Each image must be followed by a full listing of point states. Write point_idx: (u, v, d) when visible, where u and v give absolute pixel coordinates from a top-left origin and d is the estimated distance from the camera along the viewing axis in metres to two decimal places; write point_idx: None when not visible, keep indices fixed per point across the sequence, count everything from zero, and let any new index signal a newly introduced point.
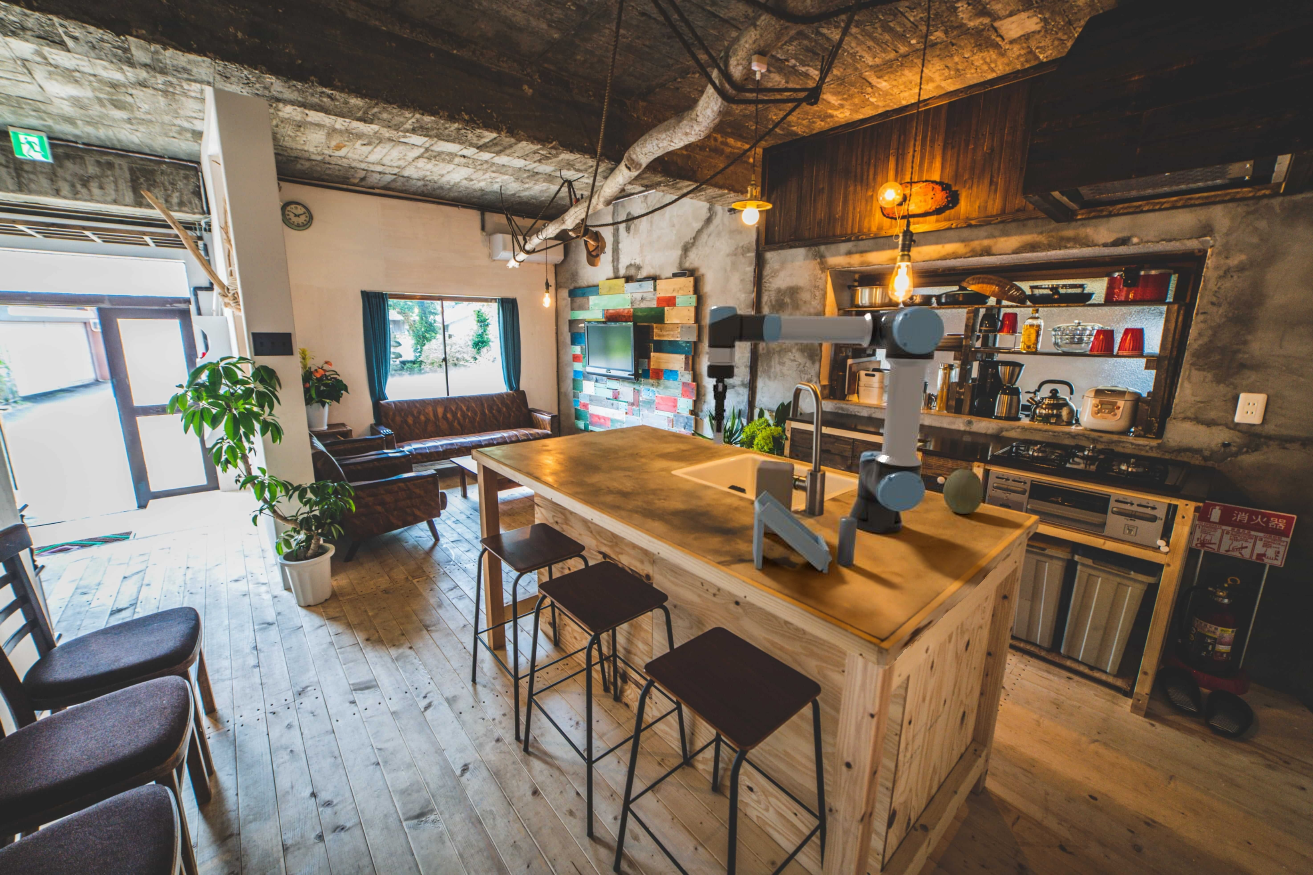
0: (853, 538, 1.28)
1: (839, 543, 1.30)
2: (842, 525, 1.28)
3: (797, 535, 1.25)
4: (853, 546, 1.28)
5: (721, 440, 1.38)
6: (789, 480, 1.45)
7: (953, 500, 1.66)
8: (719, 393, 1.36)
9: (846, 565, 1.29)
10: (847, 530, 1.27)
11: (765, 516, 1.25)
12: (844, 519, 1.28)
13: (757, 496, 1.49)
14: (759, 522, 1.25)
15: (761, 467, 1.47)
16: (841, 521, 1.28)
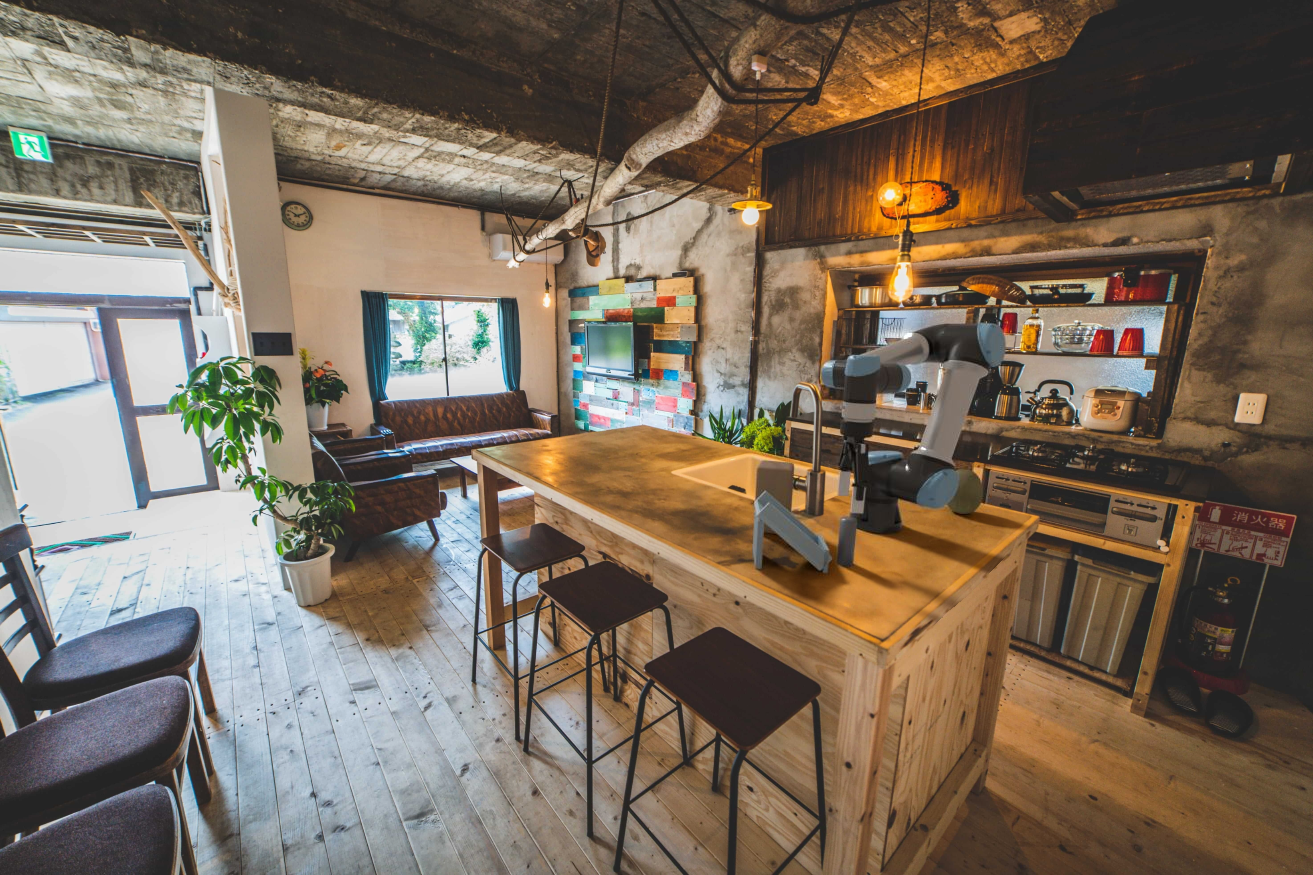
0: (853, 538, 1.28)
1: (839, 543, 1.30)
2: (842, 525, 1.28)
3: (797, 535, 1.25)
4: (853, 546, 1.28)
5: (861, 508, 1.20)
6: (789, 480, 1.45)
7: (953, 500, 1.66)
8: (862, 456, 1.18)
9: (846, 565, 1.29)
10: (847, 530, 1.27)
11: (765, 516, 1.25)
12: (844, 519, 1.28)
13: (757, 496, 1.49)
14: (759, 522, 1.25)
15: (761, 467, 1.47)
16: (841, 521, 1.28)
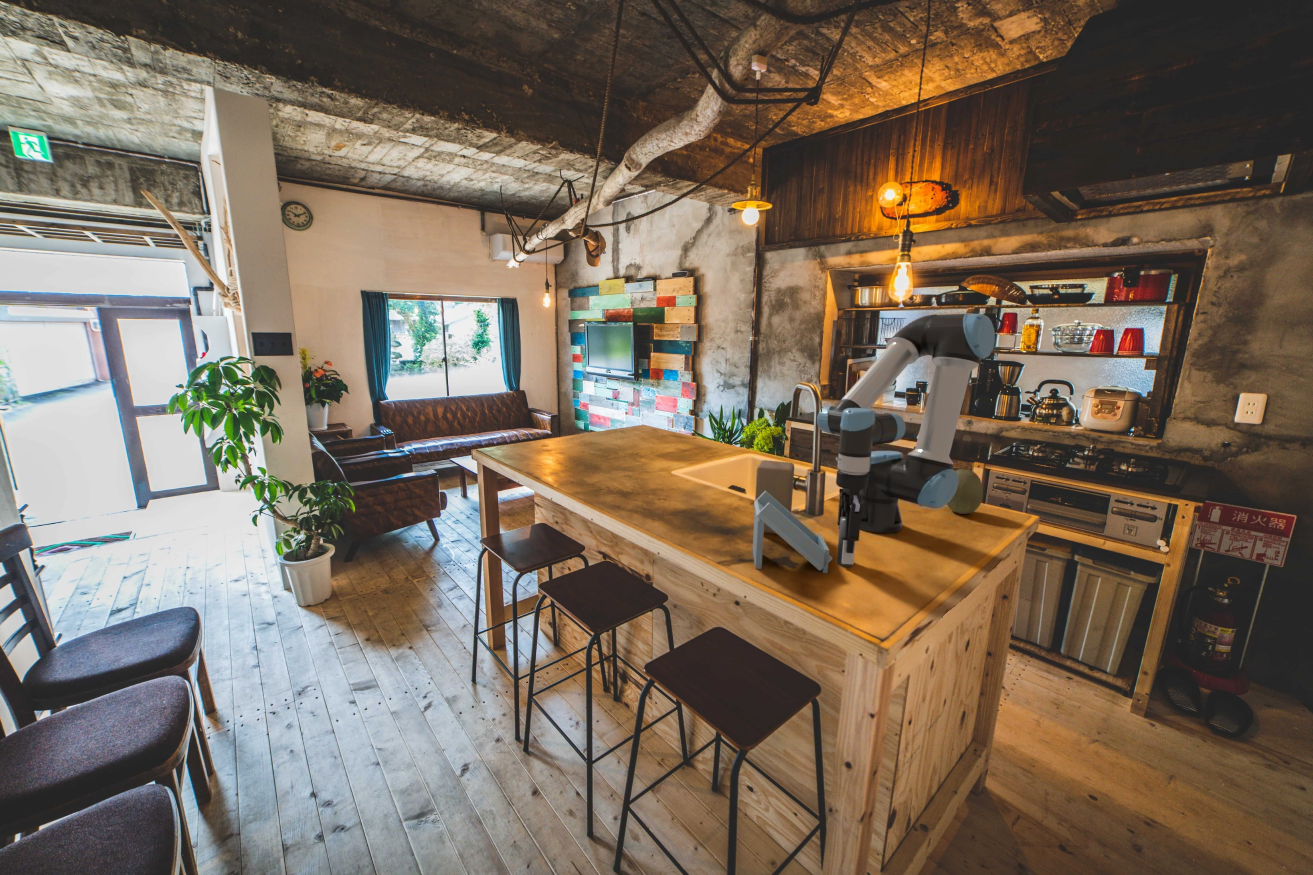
0: None
1: (839, 543, 1.30)
2: (842, 525, 1.28)
3: (797, 535, 1.25)
4: None
5: (851, 560, 1.28)
6: (789, 480, 1.45)
7: (953, 500, 1.66)
8: (855, 514, 1.22)
9: (846, 565, 1.29)
10: None
11: (765, 516, 1.25)
12: (844, 519, 1.28)
13: (757, 496, 1.49)
14: (759, 522, 1.25)
15: (761, 467, 1.47)
16: (841, 521, 1.28)
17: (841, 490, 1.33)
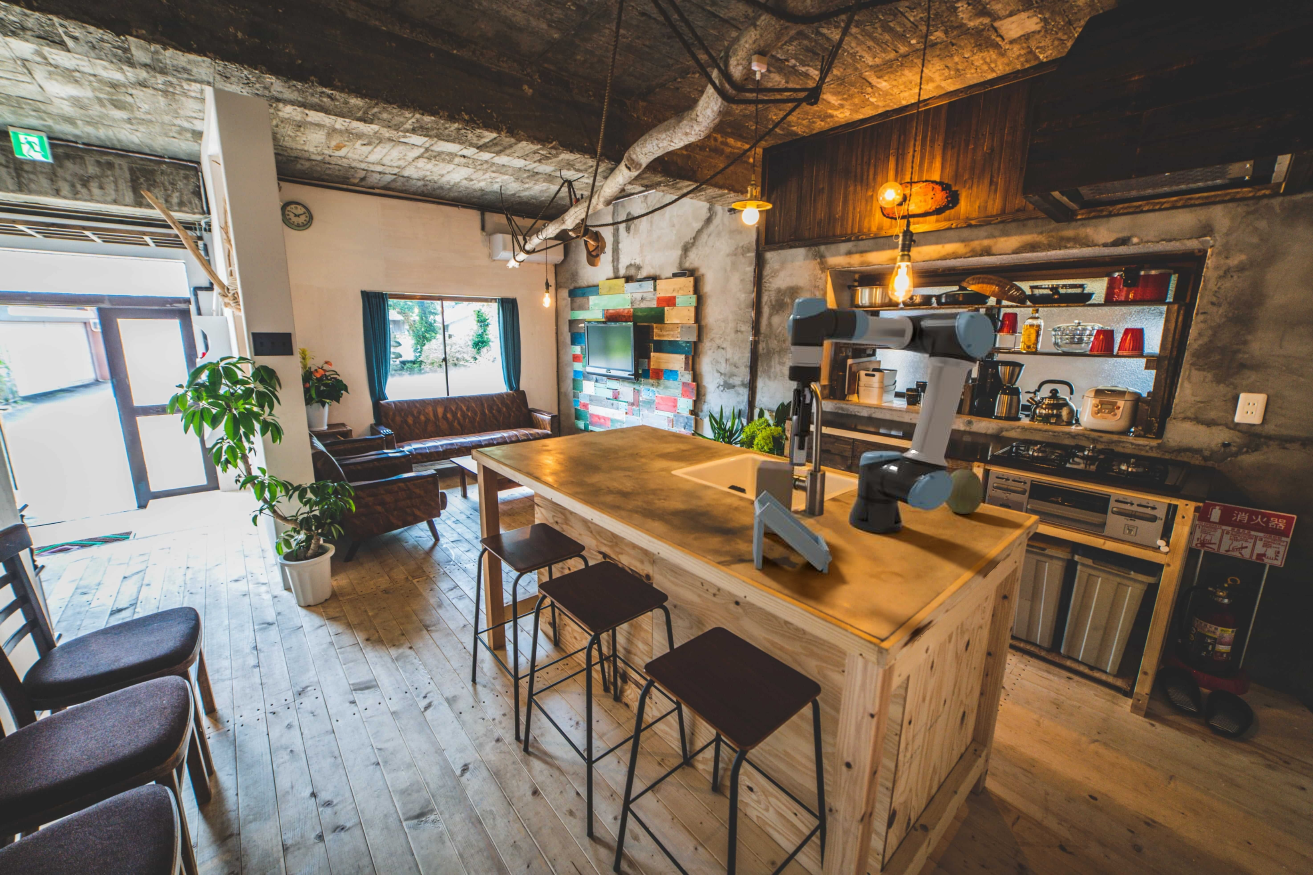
0: None
1: (791, 442, 1.25)
2: (794, 423, 1.23)
3: (797, 535, 1.25)
4: None
5: (803, 458, 1.23)
6: (789, 480, 1.45)
7: (953, 500, 1.66)
8: (806, 406, 1.18)
9: (798, 465, 1.24)
10: None
11: (765, 516, 1.25)
12: (796, 416, 1.24)
13: (757, 496, 1.49)
14: (759, 522, 1.25)
15: (761, 467, 1.47)
16: (793, 418, 1.24)
17: None
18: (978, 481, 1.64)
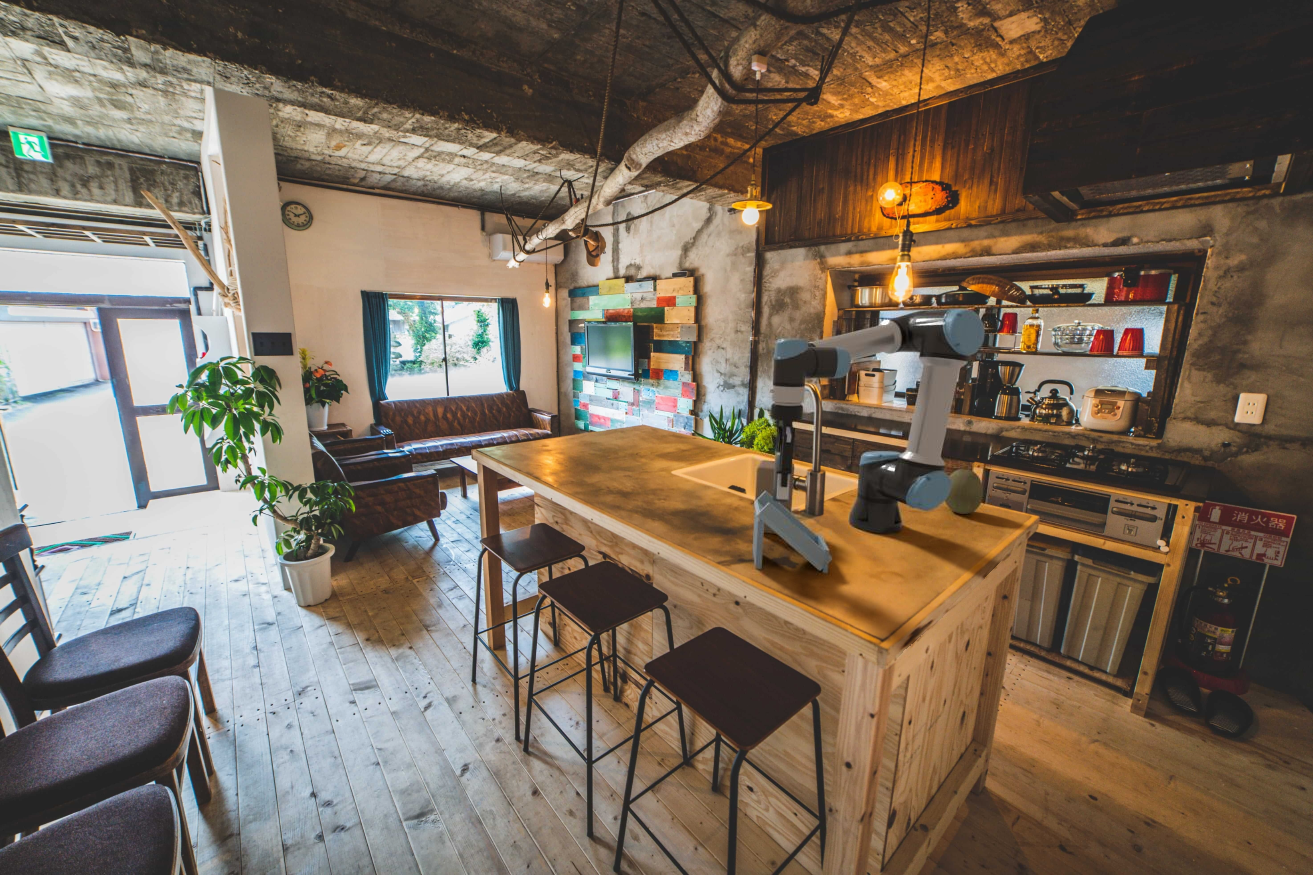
0: None
1: (774, 478, 1.27)
2: (777, 459, 1.26)
3: (797, 535, 1.25)
4: None
5: (786, 495, 1.25)
6: None
7: (953, 500, 1.66)
8: (787, 445, 1.20)
9: (781, 500, 1.27)
10: None
11: (765, 516, 1.25)
12: (779, 453, 1.26)
13: (757, 496, 1.49)
14: (759, 522, 1.25)
15: (761, 467, 1.47)
16: (776, 455, 1.26)
17: None
18: (978, 481, 1.64)
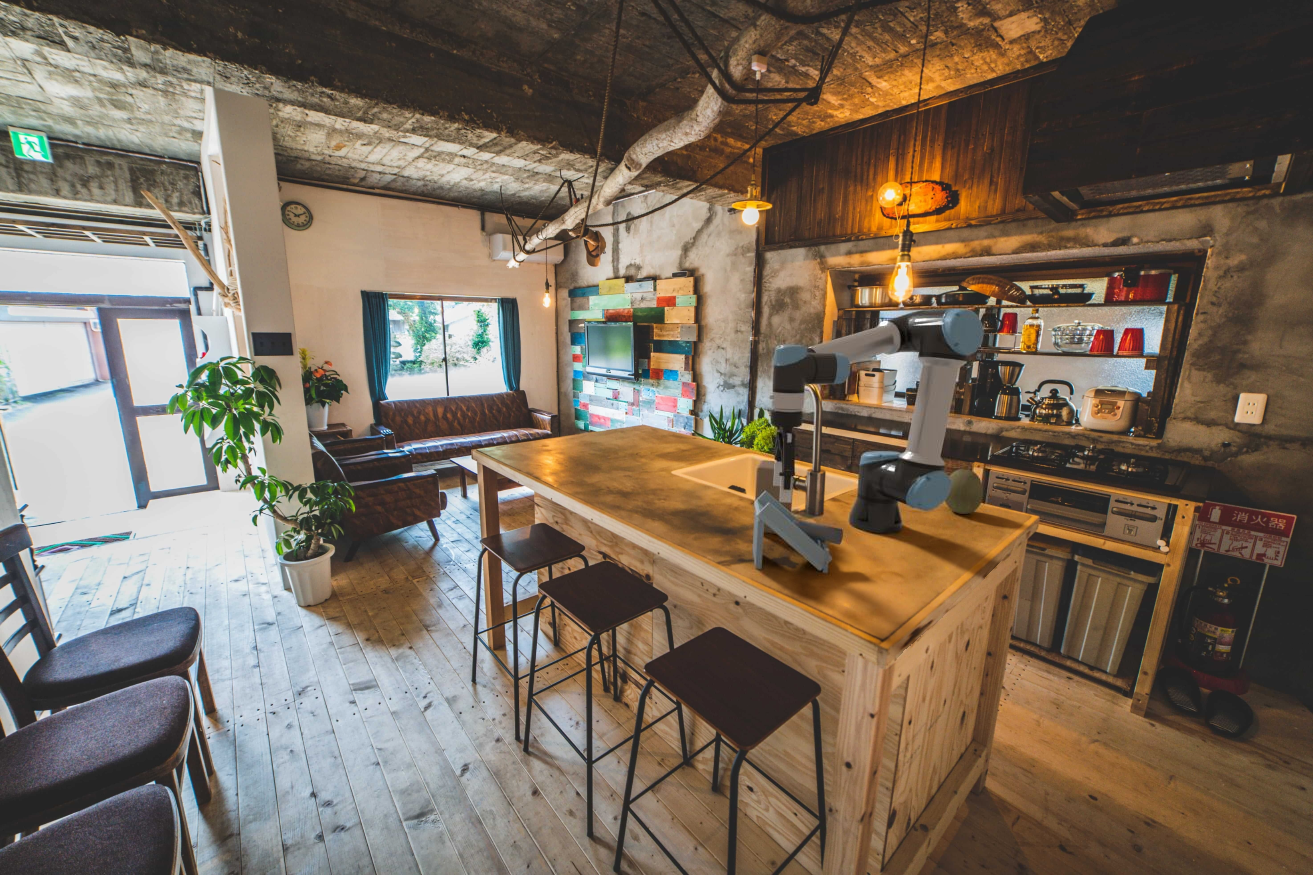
0: (823, 538, 1.28)
1: (817, 524, 1.29)
2: (837, 530, 1.28)
3: (797, 535, 1.25)
4: (814, 537, 1.28)
5: (789, 498, 1.21)
6: None
7: (953, 500, 1.66)
8: (788, 445, 1.19)
9: None
10: (833, 534, 1.28)
11: (765, 516, 1.25)
12: None
13: (757, 496, 1.49)
14: (759, 522, 1.25)
15: (761, 467, 1.47)
16: (840, 529, 1.29)
17: (778, 427, 1.31)
18: (978, 481, 1.64)
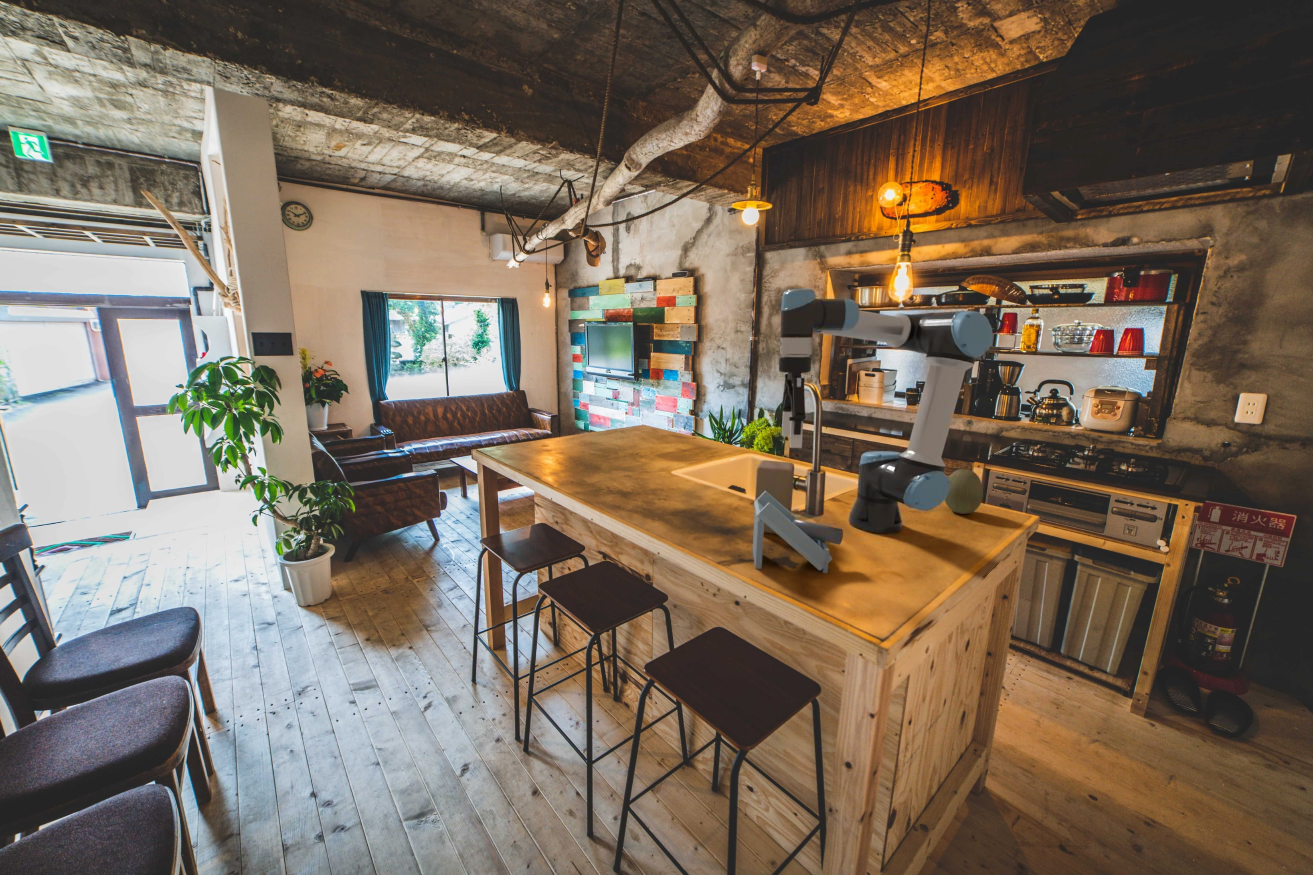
0: (823, 538, 1.28)
1: (817, 524, 1.29)
2: (837, 530, 1.28)
3: (797, 535, 1.25)
4: (814, 537, 1.28)
5: (799, 443, 1.21)
6: (789, 480, 1.45)
7: (953, 500, 1.66)
8: (798, 389, 1.18)
9: None
10: (833, 534, 1.28)
11: (765, 516, 1.25)
12: None
13: (757, 496, 1.49)
14: (759, 522, 1.25)
15: (761, 467, 1.47)
16: (840, 529, 1.29)
17: (786, 376, 1.30)
18: (978, 481, 1.64)
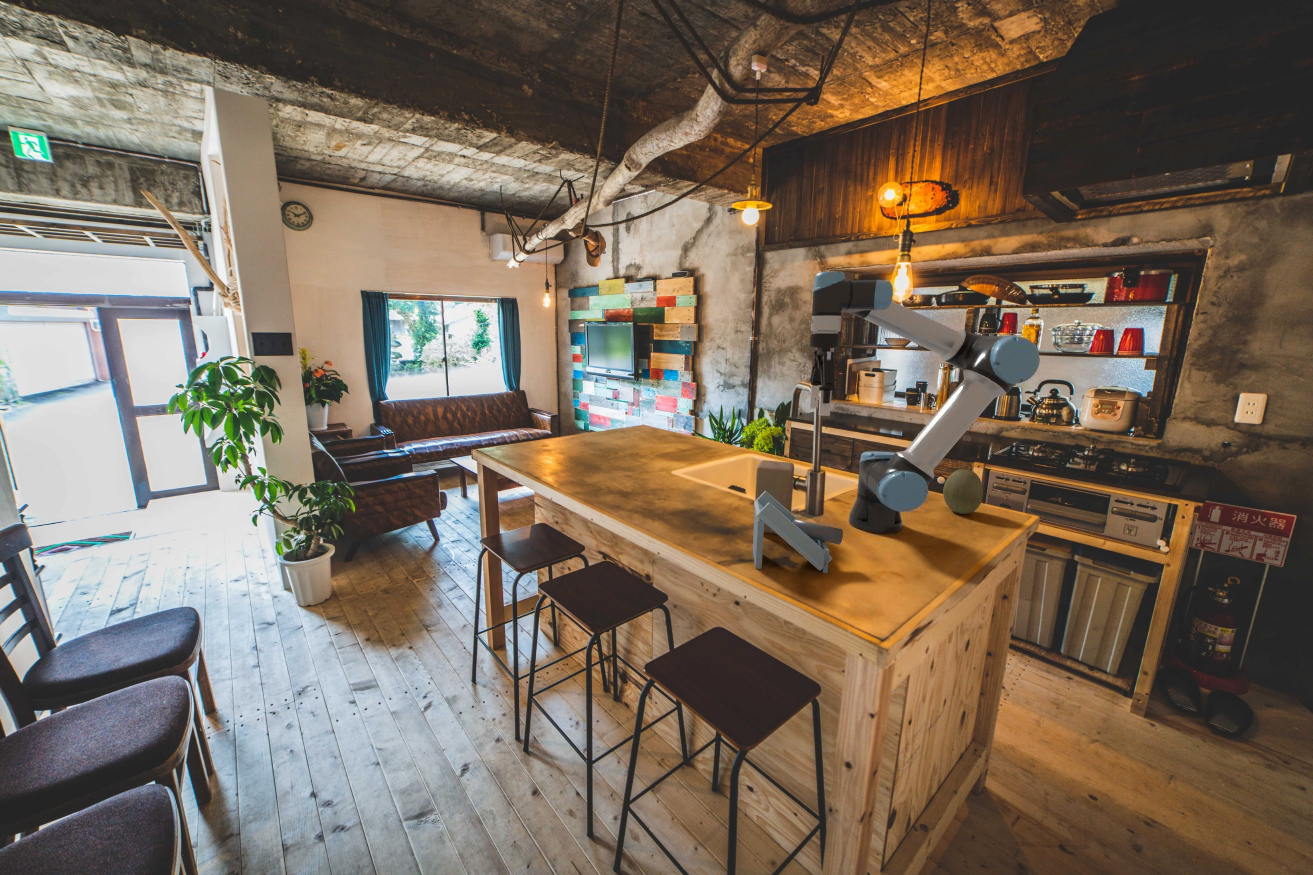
0: (823, 538, 1.28)
1: (817, 524, 1.29)
2: (837, 530, 1.28)
3: (797, 535, 1.25)
4: (814, 537, 1.28)
5: (828, 411, 1.33)
6: (789, 480, 1.45)
7: (953, 500, 1.66)
8: (828, 362, 1.30)
9: None
10: (833, 534, 1.28)
11: (765, 516, 1.25)
12: None
13: (757, 496, 1.49)
14: (759, 522, 1.25)
15: (761, 467, 1.47)
16: (840, 529, 1.29)
17: (815, 352, 1.43)
18: (978, 481, 1.64)
